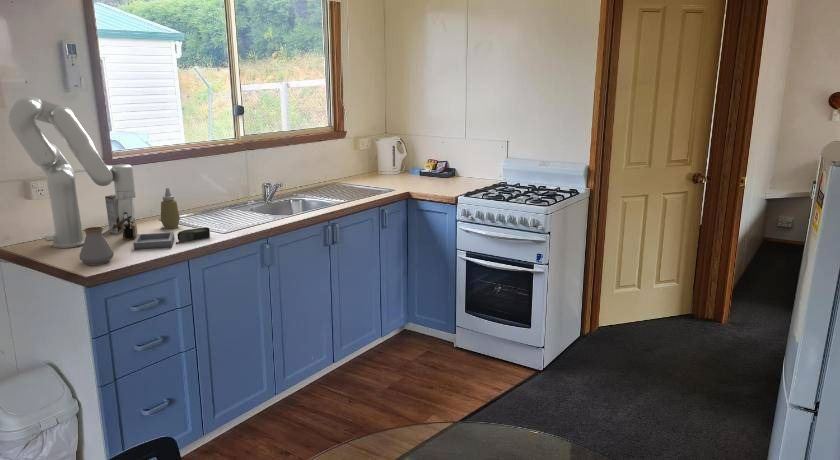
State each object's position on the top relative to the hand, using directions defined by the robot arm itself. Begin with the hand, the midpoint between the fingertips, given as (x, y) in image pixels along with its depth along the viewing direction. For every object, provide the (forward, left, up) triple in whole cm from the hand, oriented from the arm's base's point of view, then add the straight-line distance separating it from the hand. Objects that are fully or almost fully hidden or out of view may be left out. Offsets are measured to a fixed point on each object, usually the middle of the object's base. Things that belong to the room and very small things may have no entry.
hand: (130, 235), depth 263 cm
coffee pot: (-3, -30, -1) cm, 30 cm away
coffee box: (-5, +14, -1) cm, 15 cm away
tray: (+11, -13, -1) cm, 17 cm away
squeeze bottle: (+15, +15, -1) cm, 21 cm away
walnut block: (0, 0, -1) cm, 1 cm away
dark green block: (+26, -11, -1) cm, 28 cm away
